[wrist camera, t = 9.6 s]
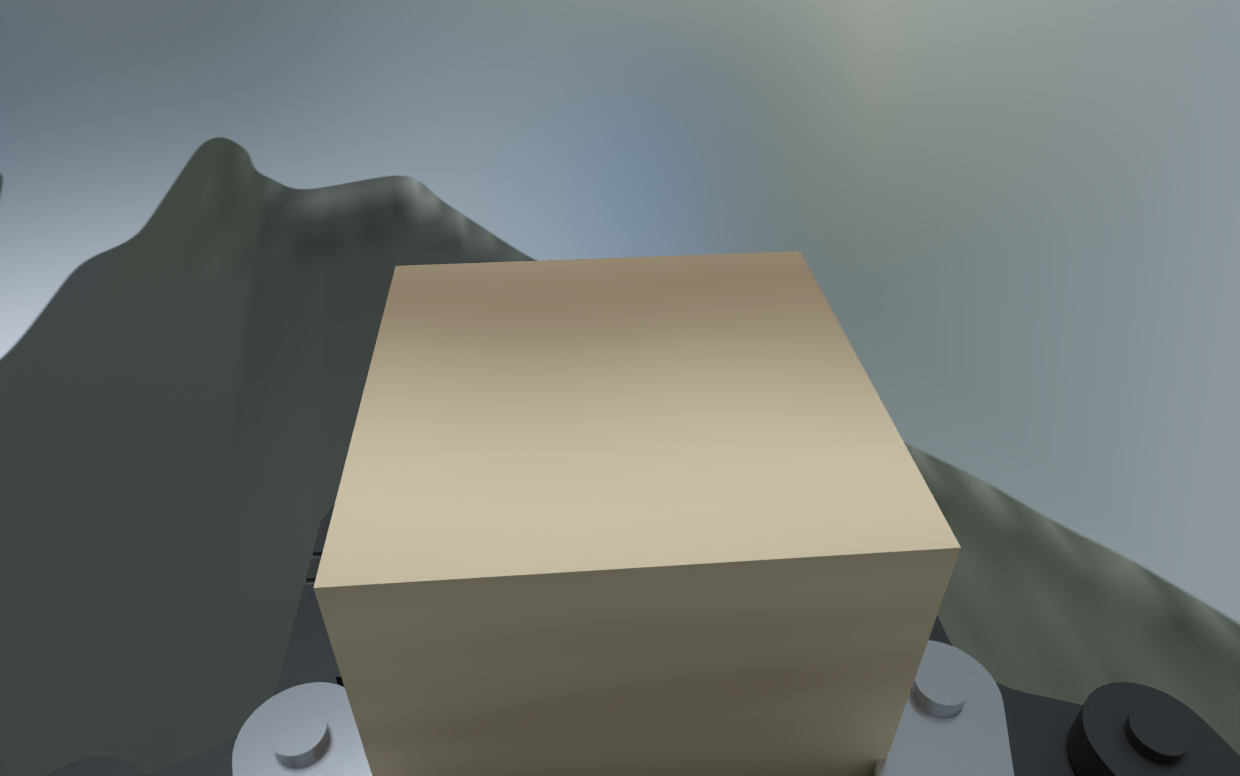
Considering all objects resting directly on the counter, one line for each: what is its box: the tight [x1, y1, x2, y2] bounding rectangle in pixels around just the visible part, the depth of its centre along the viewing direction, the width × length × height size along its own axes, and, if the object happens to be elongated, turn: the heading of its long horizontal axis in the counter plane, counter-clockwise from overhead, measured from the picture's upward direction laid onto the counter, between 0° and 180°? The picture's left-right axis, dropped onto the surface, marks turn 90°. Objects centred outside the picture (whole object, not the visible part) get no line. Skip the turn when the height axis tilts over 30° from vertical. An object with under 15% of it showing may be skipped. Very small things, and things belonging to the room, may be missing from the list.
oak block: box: [314, 251, 961, 776], centre depth 11 cm, size 4×4×10 cm
